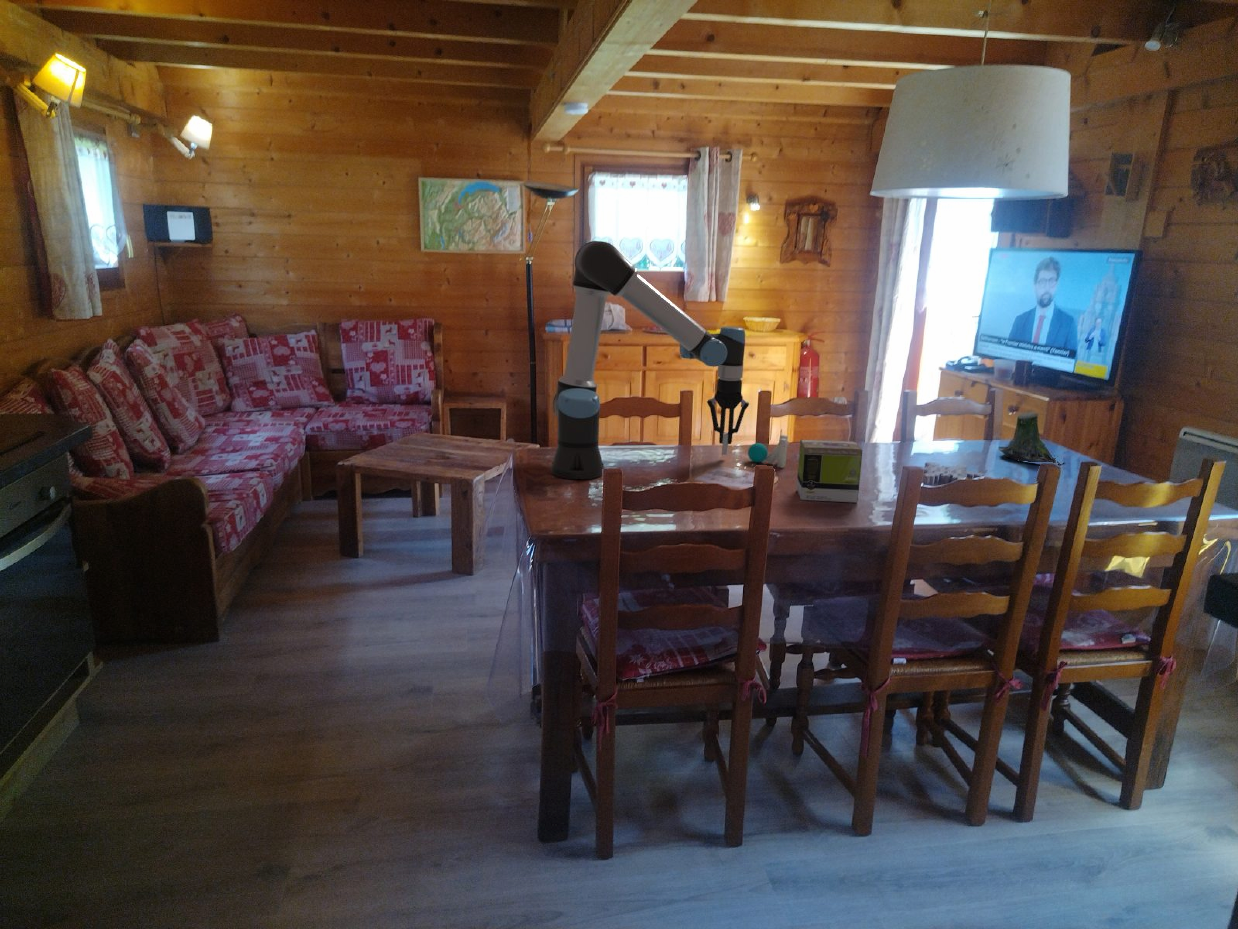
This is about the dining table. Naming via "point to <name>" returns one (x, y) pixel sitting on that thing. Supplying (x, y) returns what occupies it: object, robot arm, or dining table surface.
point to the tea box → (829, 470)
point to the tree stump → (1027, 441)
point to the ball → (757, 452)
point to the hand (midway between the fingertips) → (724, 453)
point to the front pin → (774, 454)
